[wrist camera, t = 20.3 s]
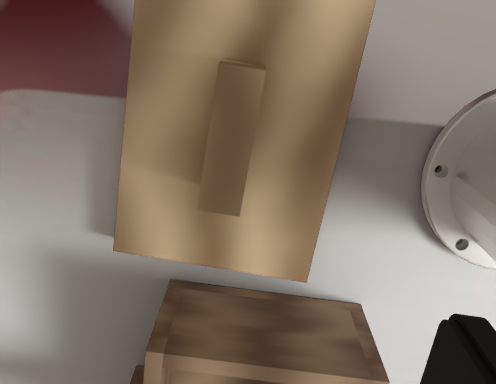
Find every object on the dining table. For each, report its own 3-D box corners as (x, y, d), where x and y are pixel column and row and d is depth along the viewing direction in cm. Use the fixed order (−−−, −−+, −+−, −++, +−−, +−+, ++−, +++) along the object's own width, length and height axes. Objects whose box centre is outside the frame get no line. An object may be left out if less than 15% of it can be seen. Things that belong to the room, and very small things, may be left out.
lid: (372, -19, 28) (402, -31, 22) (303, 267, 34) (312, 317, 28) (149, -61, 27) (119, -85, 21) (122, 237, 34) (93, 281, 28)
